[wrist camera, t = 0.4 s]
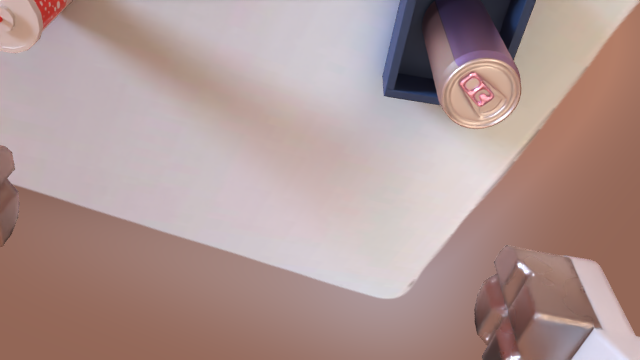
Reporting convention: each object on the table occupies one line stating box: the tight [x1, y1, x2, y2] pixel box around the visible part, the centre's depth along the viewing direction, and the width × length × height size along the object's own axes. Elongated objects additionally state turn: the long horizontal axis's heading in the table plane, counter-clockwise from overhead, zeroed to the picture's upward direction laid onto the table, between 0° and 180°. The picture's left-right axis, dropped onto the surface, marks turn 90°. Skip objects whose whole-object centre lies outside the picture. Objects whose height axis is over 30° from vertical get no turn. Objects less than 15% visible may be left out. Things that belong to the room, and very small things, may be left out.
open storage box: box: [382, 0, 536, 105], centre depth 51 cm, size 14×11×4 cm
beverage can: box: [422, 0, 521, 129], centre depth 47 cm, size 6×6×15 cm
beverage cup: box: [0, 0, 72, 53], centre depth 48 cm, size 6×6×14 cm
